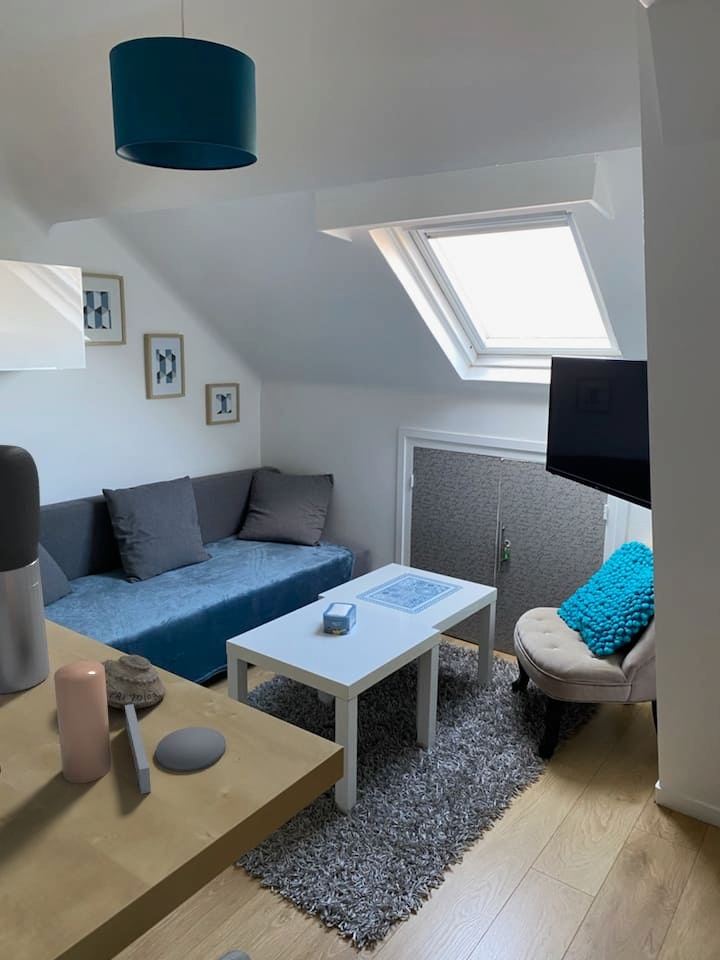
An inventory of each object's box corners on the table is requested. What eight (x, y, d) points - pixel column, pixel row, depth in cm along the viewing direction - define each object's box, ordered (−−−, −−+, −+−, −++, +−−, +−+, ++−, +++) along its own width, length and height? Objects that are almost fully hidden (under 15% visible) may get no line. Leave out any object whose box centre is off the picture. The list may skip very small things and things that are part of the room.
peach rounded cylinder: (61, 761, 85) (53, 665, 82) (109, 751, 87) (102, 657, 84) (63, 787, 80) (54, 687, 77) (113, 776, 82) (106, 678, 79)
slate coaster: (151, 739, 89) (151, 735, 89) (217, 725, 92) (217, 721, 92) (162, 777, 82) (161, 773, 82) (233, 760, 85) (232, 756, 85)
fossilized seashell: (133, 717, 91) (119, 661, 91) (65, 731, 94) (52, 678, 94) (179, 691, 101) (166, 641, 101) (116, 705, 104) (104, 656, 104)
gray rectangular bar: (126, 727, 92) (124, 705, 91) (134, 725, 92) (133, 703, 91) (141, 794, 79) (139, 769, 78) (150, 792, 79) (149, 767, 79)
